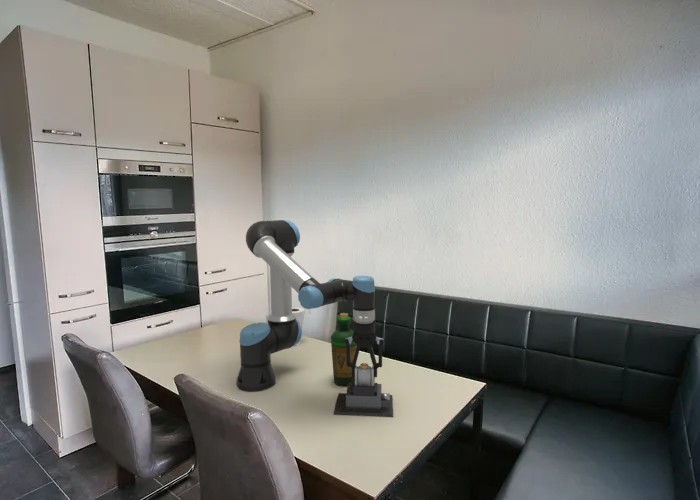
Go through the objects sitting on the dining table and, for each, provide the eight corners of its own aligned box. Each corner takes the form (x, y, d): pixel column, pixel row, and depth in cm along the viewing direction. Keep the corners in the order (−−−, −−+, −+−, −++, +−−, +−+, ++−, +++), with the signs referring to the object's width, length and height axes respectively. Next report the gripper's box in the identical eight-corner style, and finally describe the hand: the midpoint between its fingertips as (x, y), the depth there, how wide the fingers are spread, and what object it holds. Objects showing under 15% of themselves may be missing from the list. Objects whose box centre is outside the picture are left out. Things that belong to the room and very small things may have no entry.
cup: (304, 348, 205) (303, 312, 203) (282, 348, 205) (281, 312, 203) (306, 341, 215) (305, 307, 213) (286, 341, 215) (285, 307, 213)
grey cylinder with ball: (356, 392, 142) (356, 367, 141) (358, 386, 147) (357, 361, 146) (371, 393, 141) (371, 367, 140) (372, 387, 146) (372, 362, 145)
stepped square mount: (333, 414, 139) (333, 389, 138) (338, 395, 153) (338, 372, 152) (392, 416, 137) (393, 391, 136) (392, 397, 151) (392, 374, 150)
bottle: (338, 390, 157) (337, 319, 154) (326, 379, 167) (326, 312, 164) (362, 384, 162) (362, 315, 159) (350, 374, 172) (349, 309, 169)
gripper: (336, 323, 139) (337, 389, 141) (390, 324, 137) (390, 391, 139) (339, 317, 146) (340, 380, 148) (390, 318, 145) (390, 381, 147)
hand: (364, 385), depth 144 cm, fingers open, 5 cm apart
